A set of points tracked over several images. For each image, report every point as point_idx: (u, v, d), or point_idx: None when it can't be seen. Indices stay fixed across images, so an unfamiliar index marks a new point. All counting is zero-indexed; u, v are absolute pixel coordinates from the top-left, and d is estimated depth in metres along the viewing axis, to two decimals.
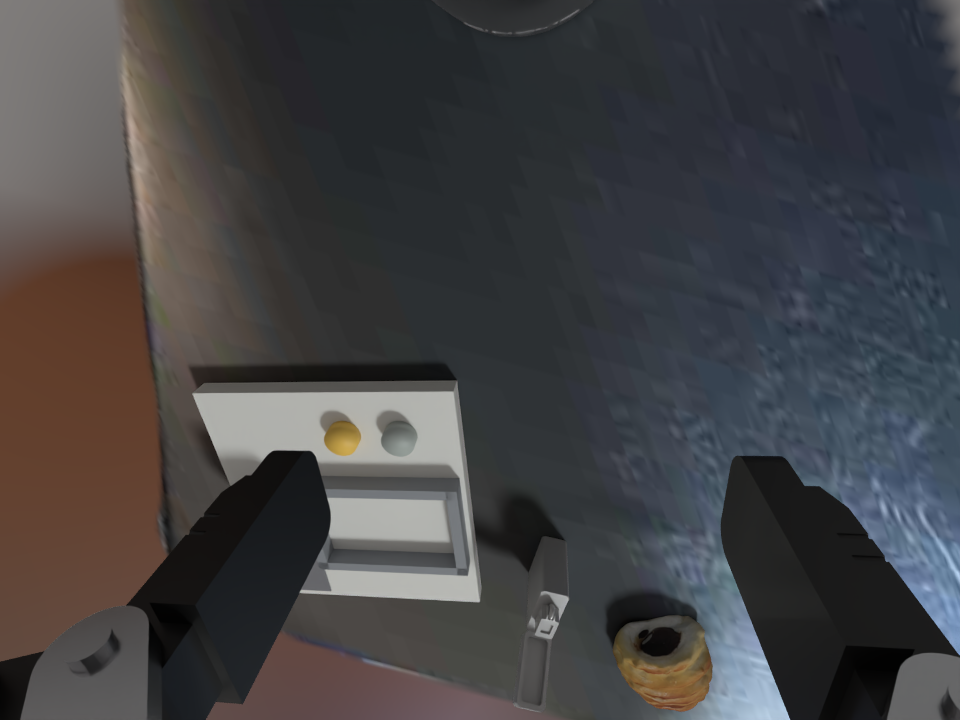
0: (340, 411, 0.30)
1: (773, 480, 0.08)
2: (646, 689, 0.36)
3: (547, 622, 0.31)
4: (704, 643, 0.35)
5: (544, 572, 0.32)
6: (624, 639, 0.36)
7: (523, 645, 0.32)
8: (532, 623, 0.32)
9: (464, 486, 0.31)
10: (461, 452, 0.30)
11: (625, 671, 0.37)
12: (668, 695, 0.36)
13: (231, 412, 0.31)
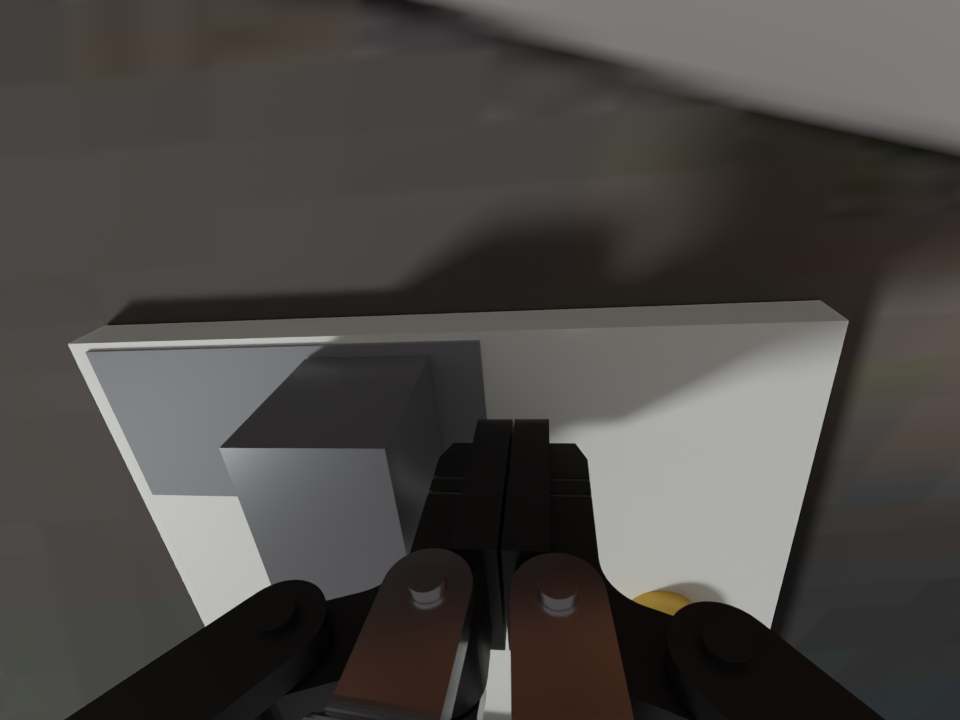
0: None
1: (527, 436, 0.09)
2: None
3: None
4: None
5: None
6: None
7: None
8: None
9: None
10: None
11: None
12: None
13: (758, 409, 0.11)
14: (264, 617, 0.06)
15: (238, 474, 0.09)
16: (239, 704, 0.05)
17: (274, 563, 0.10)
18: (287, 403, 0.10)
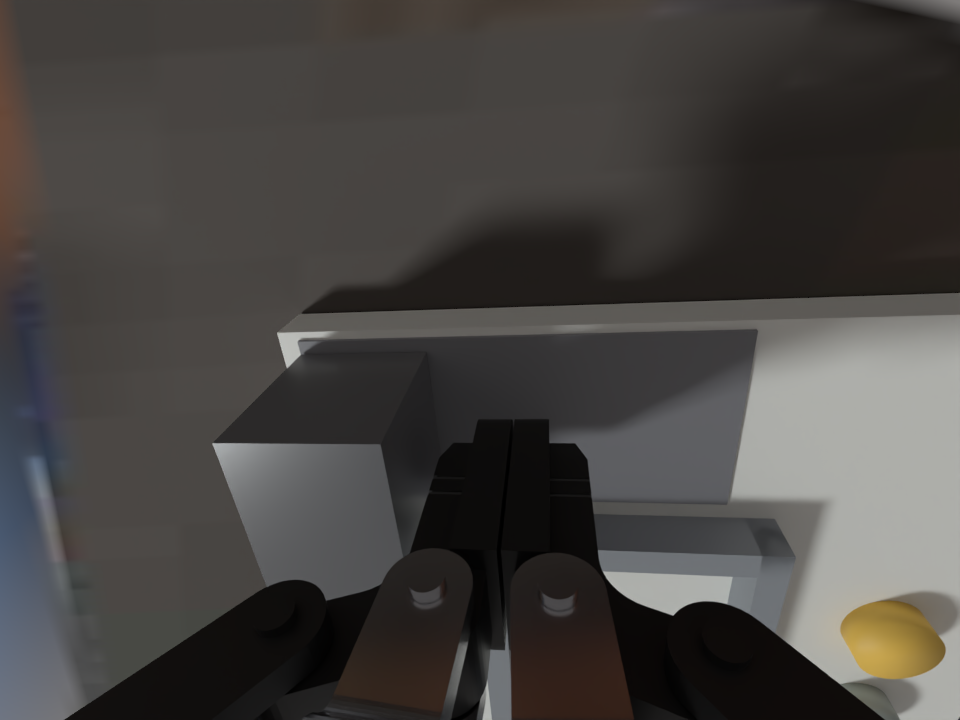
0: (951, 631, 0.13)
1: (527, 436, 0.09)
2: None
3: None
4: None
5: None
6: None
7: None
8: None
9: None
10: None
11: None
12: None
13: None
14: (264, 617, 0.06)
15: (232, 470, 0.09)
16: (240, 705, 0.05)
17: (268, 560, 0.10)
18: (282, 398, 0.10)
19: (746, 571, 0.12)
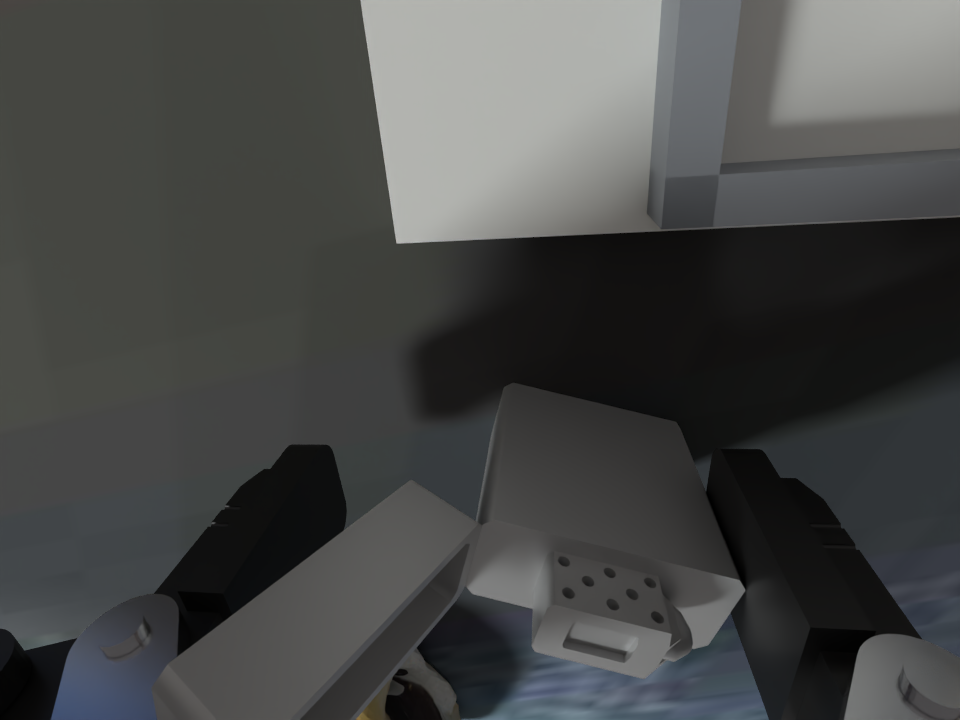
0: None
1: (750, 472, 0.08)
2: None
3: (641, 645, 0.07)
4: None
5: (718, 524, 0.09)
6: None
7: (439, 544, 0.07)
8: (534, 542, 0.08)
9: None
10: None
11: None
12: None
13: None
14: None
15: None
16: None
17: None
18: None
19: None
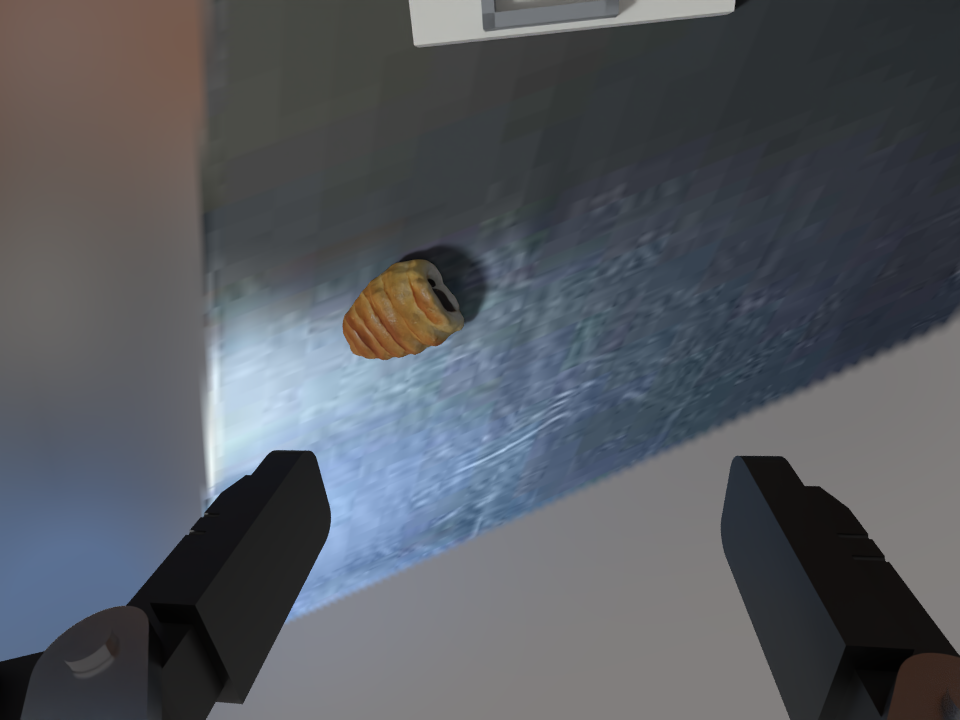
0: None
1: (773, 480, 0.08)
2: (386, 303, 0.36)
3: None
4: (451, 333, 0.38)
5: None
6: (425, 265, 0.36)
7: None
8: None
9: (603, 23, 0.29)
10: (650, 20, 0.28)
11: (391, 279, 0.36)
12: (391, 324, 0.36)
13: None
14: None
15: None
16: None
17: None
18: None
19: None
